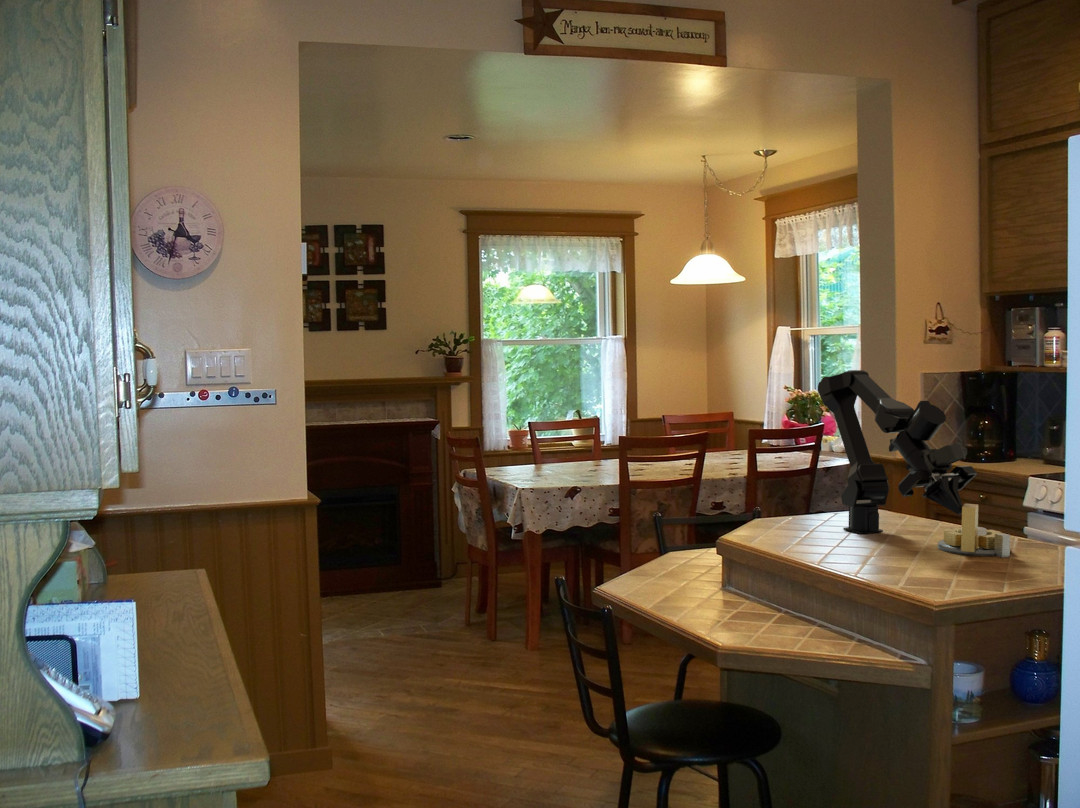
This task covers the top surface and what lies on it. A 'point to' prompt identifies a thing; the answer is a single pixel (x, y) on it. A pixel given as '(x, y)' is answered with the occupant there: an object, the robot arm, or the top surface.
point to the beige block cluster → (970, 532)
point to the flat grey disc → (1000, 548)
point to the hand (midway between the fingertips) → (961, 512)
